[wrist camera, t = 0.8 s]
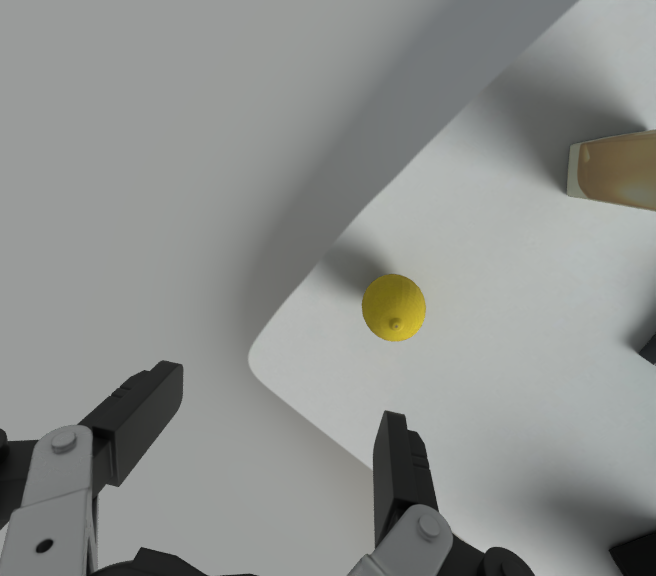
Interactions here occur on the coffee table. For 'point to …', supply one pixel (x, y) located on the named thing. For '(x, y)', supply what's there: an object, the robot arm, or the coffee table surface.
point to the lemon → (393, 307)
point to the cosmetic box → (615, 170)
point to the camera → (636, 557)
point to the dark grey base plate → (650, 351)
